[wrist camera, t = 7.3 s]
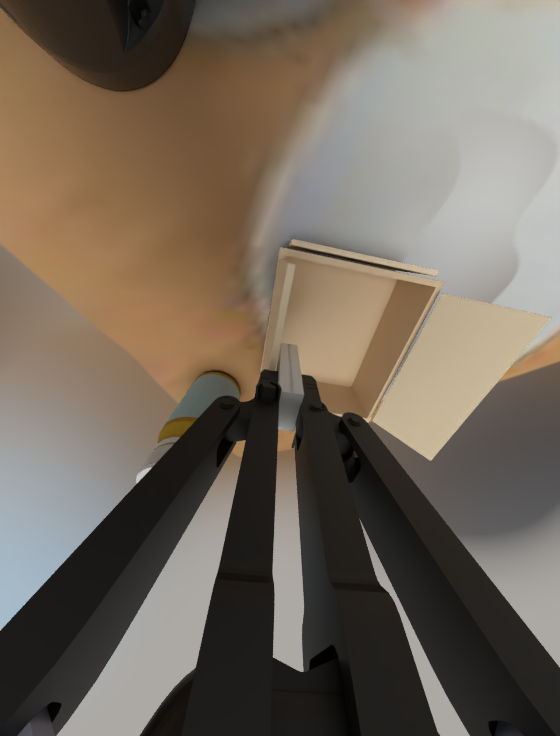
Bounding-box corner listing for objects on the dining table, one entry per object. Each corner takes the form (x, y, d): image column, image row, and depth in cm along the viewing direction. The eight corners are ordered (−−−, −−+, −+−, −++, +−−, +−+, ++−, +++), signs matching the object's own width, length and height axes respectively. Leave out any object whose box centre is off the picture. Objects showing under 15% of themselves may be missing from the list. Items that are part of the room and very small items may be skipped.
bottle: (247, 380, 30) (221, 476, 17) (232, 412, 33) (200, 514, 20) (201, 362, 29) (134, 452, 16) (190, 398, 32) (126, 498, 19)
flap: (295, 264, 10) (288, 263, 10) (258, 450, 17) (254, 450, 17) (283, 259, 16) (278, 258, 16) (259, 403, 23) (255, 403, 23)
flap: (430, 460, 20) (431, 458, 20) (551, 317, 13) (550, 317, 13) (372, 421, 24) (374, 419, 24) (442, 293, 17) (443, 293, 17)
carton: (281, 241, 22) (281, 236, 16) (404, 268, 23) (449, 273, 17) (259, 377, 30) (254, 409, 24) (350, 392, 31) (367, 426, 25)
